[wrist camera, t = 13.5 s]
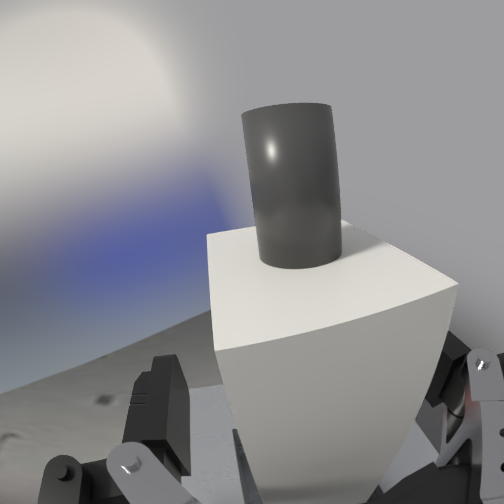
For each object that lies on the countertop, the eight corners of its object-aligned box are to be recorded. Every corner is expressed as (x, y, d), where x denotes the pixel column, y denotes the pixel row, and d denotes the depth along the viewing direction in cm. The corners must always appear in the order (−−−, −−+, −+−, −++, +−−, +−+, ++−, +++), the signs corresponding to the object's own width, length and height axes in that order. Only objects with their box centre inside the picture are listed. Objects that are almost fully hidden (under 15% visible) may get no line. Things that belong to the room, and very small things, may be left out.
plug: (277, 540, 8) (166, 87, 2) (258, 464, 13) (191, 134, 7) (353, 518, 8) (462, 97, 3) (322, 448, 14) (323, 122, 8)
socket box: (204, 611, 4) (170, 617, 2) (188, 424, 18) (169, 382, 16) (448, 540, 5) (492, 516, 3) (357, 389, 19) (364, 342, 17)
